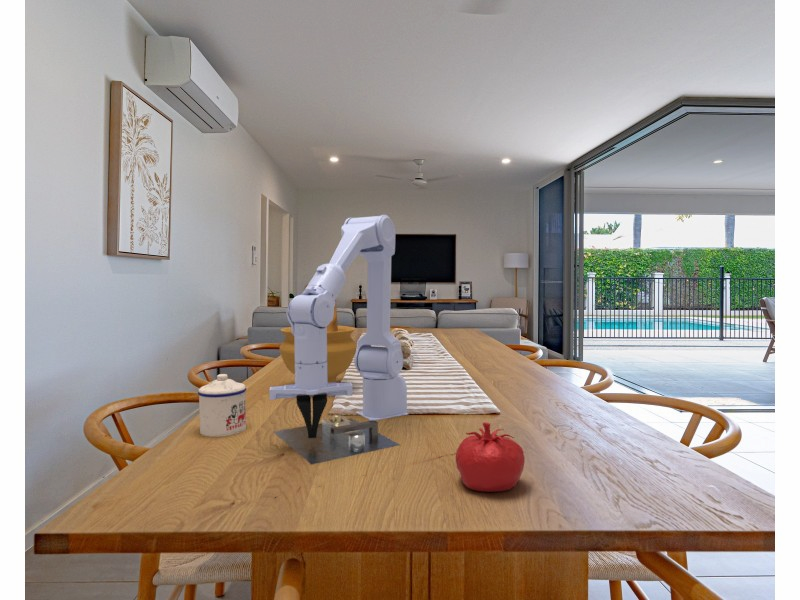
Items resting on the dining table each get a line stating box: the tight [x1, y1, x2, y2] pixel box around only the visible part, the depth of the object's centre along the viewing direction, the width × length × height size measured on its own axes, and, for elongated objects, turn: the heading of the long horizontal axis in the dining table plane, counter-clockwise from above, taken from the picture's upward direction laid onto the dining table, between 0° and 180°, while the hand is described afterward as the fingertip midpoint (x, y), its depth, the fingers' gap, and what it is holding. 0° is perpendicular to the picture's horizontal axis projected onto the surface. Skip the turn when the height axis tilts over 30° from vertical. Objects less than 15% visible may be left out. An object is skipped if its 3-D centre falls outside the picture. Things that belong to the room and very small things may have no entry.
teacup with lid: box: [197, 373, 247, 438], centre depth 97 cm, size 12×9×12 cm
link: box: [321, 415, 365, 452], centre depth 89 cm, size 13×4×3 cm, turn 28°
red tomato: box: [455, 421, 526, 493], centre depth 71 cm, size 10×10×9 cm
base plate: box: [273, 418, 401, 465], centre depth 91 cm, size 17×20×1 cm
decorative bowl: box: [279, 283, 357, 383], centre depth 133 cm, size 21×21×30 cm
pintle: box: [332, 413, 342, 423], centre depth 93 cm, size 2×2×4 cm
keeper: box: [331, 419, 379, 443], centre depth 86 cm, size 9×1×4 cm, turn 122°
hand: (312, 436), depth 87 cm, fingers closed
